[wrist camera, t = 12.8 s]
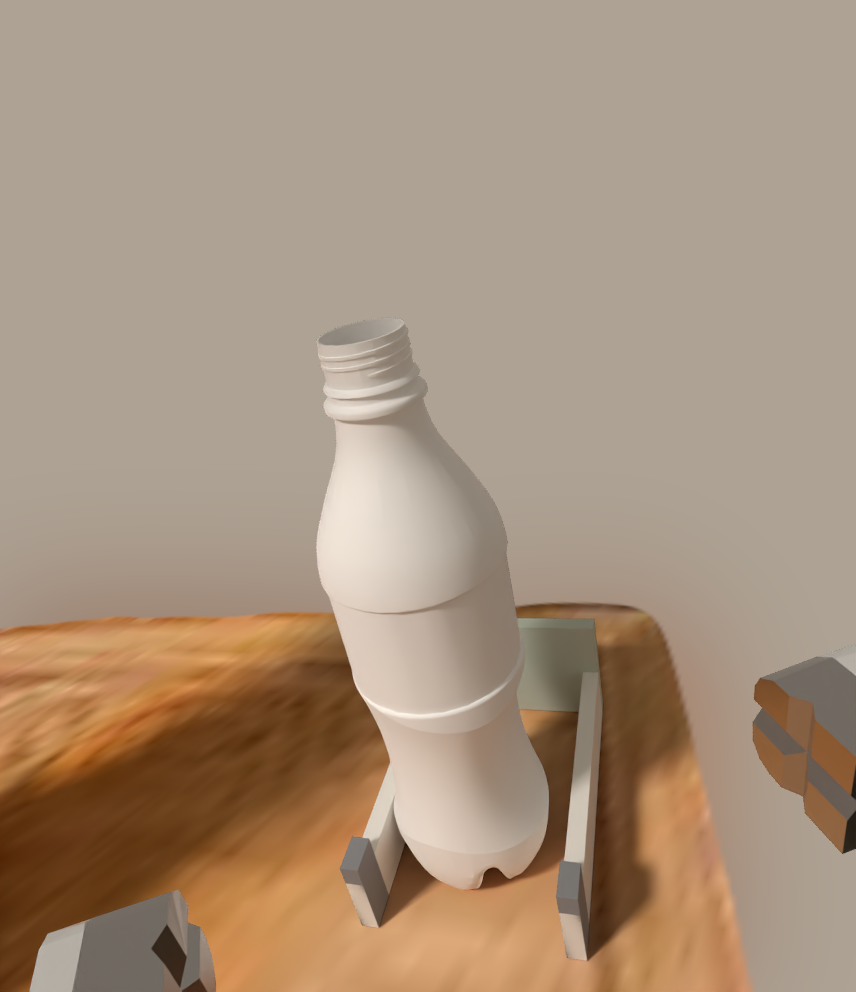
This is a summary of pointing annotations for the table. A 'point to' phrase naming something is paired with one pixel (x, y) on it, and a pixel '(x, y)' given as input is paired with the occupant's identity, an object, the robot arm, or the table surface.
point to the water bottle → (427, 614)
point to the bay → (573, 688)
